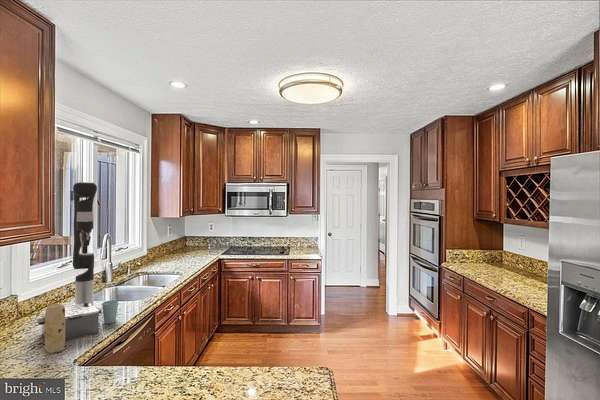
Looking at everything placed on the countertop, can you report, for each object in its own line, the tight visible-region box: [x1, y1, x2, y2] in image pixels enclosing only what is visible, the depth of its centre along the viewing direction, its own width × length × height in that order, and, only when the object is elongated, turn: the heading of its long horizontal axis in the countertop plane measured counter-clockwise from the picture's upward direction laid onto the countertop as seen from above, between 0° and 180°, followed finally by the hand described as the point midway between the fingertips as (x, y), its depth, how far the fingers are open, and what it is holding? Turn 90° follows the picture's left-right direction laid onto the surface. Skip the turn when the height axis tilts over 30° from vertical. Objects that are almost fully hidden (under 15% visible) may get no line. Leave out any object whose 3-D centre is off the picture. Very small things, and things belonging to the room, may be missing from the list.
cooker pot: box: [36, 307, 103, 342], centre depth 171 cm, size 18×26×10 cm
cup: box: [101, 299, 119, 324], centre depth 188 cm, size 8×8×10 cm
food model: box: [44, 302, 66, 354], centre depth 152 cm, size 10×7×20 cm
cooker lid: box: [41, 302, 100, 320], centre depth 170 cm, size 21×20×2 cm
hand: (84, 253), depth 184 cm, fingers closed
